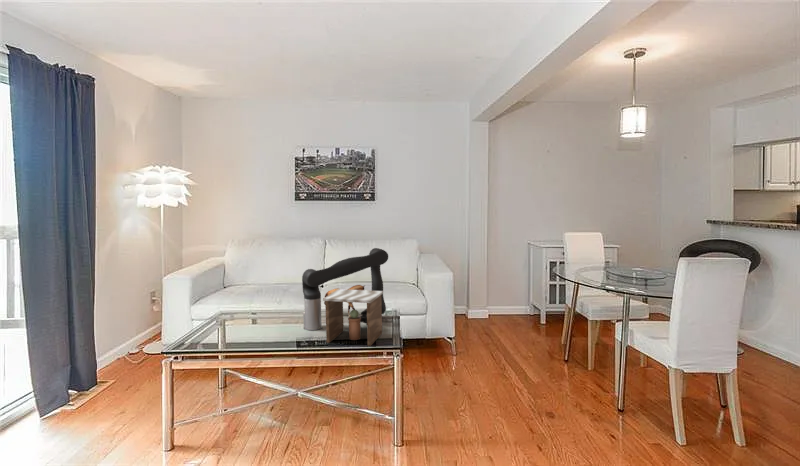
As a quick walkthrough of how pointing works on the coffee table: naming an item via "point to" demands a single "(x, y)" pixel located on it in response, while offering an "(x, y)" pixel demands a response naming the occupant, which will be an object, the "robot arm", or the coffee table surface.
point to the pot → (354, 325)
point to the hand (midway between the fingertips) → (359, 322)
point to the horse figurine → (356, 287)
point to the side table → (361, 296)
